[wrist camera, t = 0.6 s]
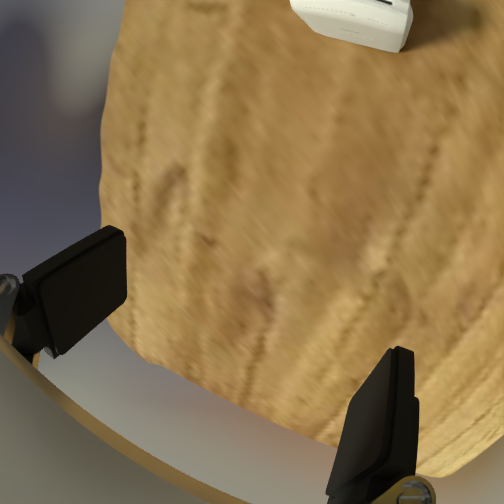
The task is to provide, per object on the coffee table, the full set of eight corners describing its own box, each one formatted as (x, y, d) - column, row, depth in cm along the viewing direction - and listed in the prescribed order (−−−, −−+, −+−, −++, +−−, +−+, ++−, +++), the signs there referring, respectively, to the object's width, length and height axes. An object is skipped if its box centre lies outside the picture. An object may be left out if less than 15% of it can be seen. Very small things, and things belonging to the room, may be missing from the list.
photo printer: (309, 35, 28) (276, 3, 18) (316, 3, 26) (285, -40, 16) (401, 59, 26) (414, 34, 16) (408, 25, 24) (421, -13, 14)
